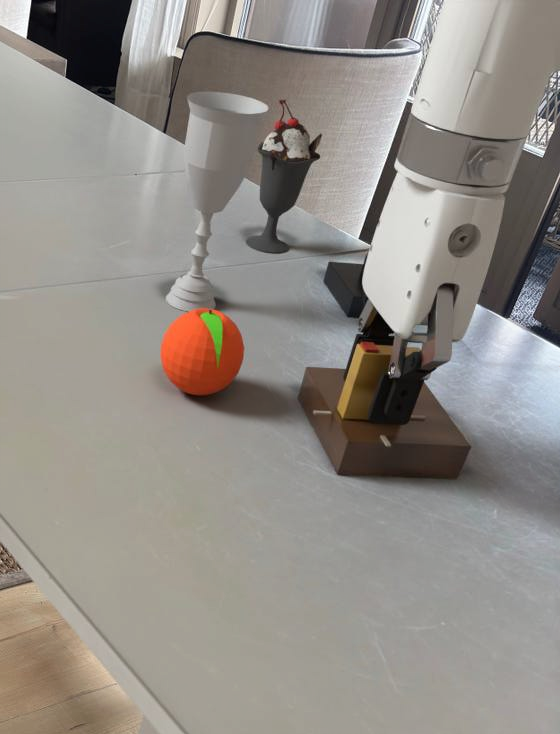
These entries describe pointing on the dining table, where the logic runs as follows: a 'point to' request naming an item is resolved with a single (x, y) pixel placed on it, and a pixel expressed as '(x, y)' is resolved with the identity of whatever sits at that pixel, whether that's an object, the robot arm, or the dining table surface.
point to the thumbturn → (365, 378)
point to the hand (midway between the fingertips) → (374, 400)
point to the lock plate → (382, 434)
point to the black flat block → (346, 286)
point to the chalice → (214, 175)
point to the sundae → (282, 176)
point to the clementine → (202, 351)
